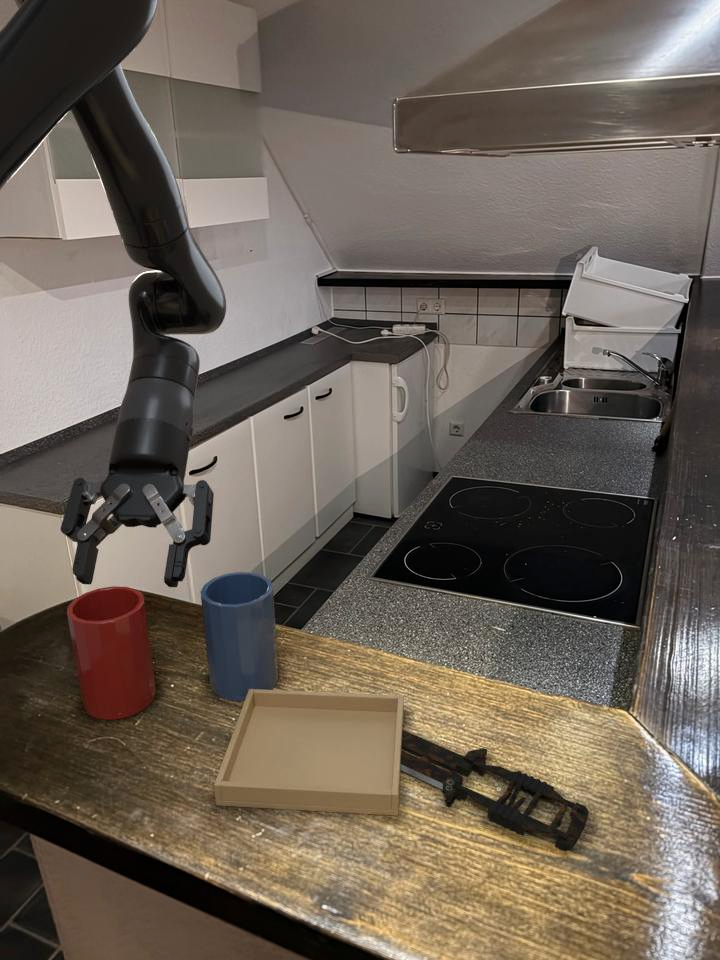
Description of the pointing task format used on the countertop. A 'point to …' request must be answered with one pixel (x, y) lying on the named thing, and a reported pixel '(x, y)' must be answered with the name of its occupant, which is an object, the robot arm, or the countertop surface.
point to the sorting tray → (314, 753)
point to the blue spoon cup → (240, 634)
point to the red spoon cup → (112, 652)
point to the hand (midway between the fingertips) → (126, 583)
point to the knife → (496, 809)
